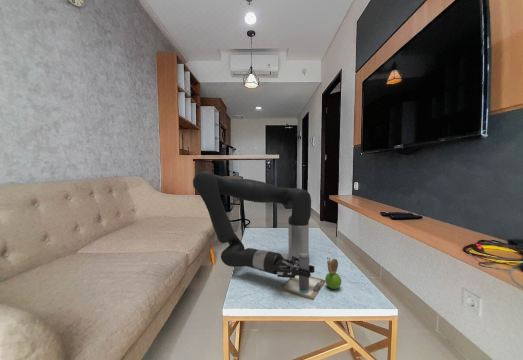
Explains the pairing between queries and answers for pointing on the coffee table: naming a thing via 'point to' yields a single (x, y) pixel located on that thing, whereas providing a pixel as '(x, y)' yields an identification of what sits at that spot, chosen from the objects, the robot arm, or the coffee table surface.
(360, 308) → the coffee table surface
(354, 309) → the coffee table surface
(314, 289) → the clipboard
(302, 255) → the cylinder
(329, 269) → the snail figurine
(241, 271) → the coffee table surface
